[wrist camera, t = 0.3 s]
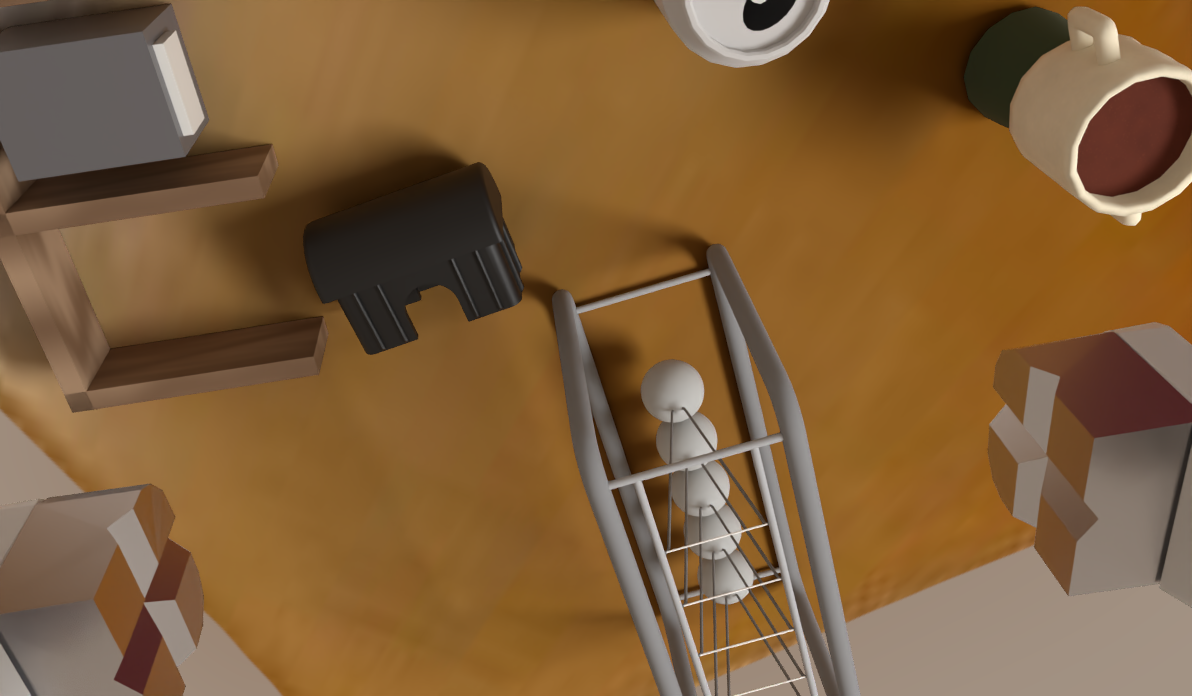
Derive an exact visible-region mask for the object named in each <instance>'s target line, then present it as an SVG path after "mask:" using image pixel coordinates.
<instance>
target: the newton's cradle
mask: <svg viewBox="0 0 1192 696" xmlns="http://www.w3.org/2000/svg"><path fill="white" fill-rule="evenodd" d="M707 262H708V266H709V269H705V270H702V271H698V272H695V273H692V274H688V275H685V276H681V277H678V278H675V279H671V280H668V281H664V282H661V283H658V284H654V285H651V286H647V287H644V288H641V289H637V290H634V291H630V292H627V293H624V294H620V295H617V296H613V297H610V298H607V299H603V300H600V301H597V302H593V303H590V304H586V305H583V306H580V307H576V306H575V303H574V300H573V298H572V296H571V294H570V293H569V292H568V291H567V290H563V289H562V290H558V291H556V292H555V293H554V294H553V297H552V305H553V312H554V319H555V325H556V332H557V339H558V346H559V353H560V360H561V367H562V374H563V381H564V388H565V395H566V402H567V408H568V415H569V422H570V429H571V436H572V442H573V447H574V452H575V456H576V460H577V464H578V468H579V471H580V475H581V478H582V481H583V484H584V487H585V490H586V493H587V496H588V499H589V501H590V504H591V507H592V510H593V512H594V515H595V518H596V521H597V523H598V526H599V529H600V532H601V534H602V537H603V540H604V542H605V545H606V548H607V551H608V553H609V556H610V559H611V562H612V564H613V567H614V570H615V573H616V575H617V578H618V581H619V583H620V586H621V589H622V592H623V594H624V597H625V600H626V603H627V605H628V608H629V611H630V614H631V616H632V619H633V622H634V624H635V627H636V630H637V633H638V635H639V638H640V641H641V644H642V646H643V649H644V652H645V655H646V657H647V660H648V663H649V665H650V668H651V671H652V674H653V676H654V679H655V682H656V685H657V687H658V690H659V693H660V696H697V694H696V690H695V686H694V681H693V677H692V673H691V669H690V664H689V660H688V656H687V651H686V647H685V643H684V639H683V635H684V638H685V641H686V644H687V647H688V650H689V653H690V656H691V659H692V662H693V665H694V668H695V671H696V674H697V677H698V680H699V683H700V686H701V689H702V692H703V695H704V696H711V693H710V690H709V687H708V684H707V681H706V678H705V675H704V671H703V668H702V665H701V662H700V659H699V657H700V656H703V655H706V654H710V653H713V652H714V669H715V696H718V679H717V651H721V650H724V649H726V650H727V686H728V696H730V666H729V648H732V647H735V646H739V645H743V644H746V643H750V642H754V641H757V640H761V639H763V640H764V642H765V644H766V645H767V647H768V648H769V650H770V652H771V653H772V655H773V657H774V658H775V660H776V661H777V663H778V665H779V666H780V668H781V669H782V671H783V673H784V674H785V676H786V677H787V679H788V681H785V682H781V683H777V684H773V685H769V686H766V687H763V688H758V689H755V690H751V691H747V692H744V693H740V694H736V695H733V696H740V695H743V694H747V693H751V692H754V691H757V690H762V689H765V688H769V687H772V686H776V685H780V684H783V683H787V682H789V683H790V684H791V686H792V688H793V689H794V691H795V692H796V694H797V696H800V694H799V692H798V691H797V689H796V687H795V686H794V684H793V683H792V681H795V680H798V679H802V678H807V682H808V686H809V689H810V694H811V696H818V693H817V688H816V684H815V680H814V676H813V672H812V668H811V663H810V659H809V655H808V651H807V647H806V642H805V638H806V640H807V643H808V645H809V648H810V651H811V654H812V657H813V659H814V662H815V665H816V668H817V670H818V673H819V676H820V678H821V681H822V684H823V687H824V689H825V692H826V695H827V696H860V691H859V686H858V682H857V676H856V671H855V667H854V662H853V657H852V653H851V648H850V643H849V638H848V633H847V628H846V623H845V618H844V614H843V609H842V604H841V599H840V594H839V589H838V585H837V580H836V575H835V570H834V565H833V560H832V556H831V551H830V546H829V541H828V536H827V531H826V527H825V522H824V517H823V512H822V507H821V502H820V498H819V493H818V488H817V483H816V478H815V473H814V469H813V464H812V459H811V454H810V449H809V444H808V440H807V435H806V430H805V426H804V422H803V418H802V414H801V411H800V407H799V404H798V401H797V398H796V395H795V392H794V389H793V387H792V384H791V382H790V380H789V377H788V375H787V373H786V371H785V369H784V367H783V365H782V363H781V361H780V359H779V356H778V354H777V352H776V350H775V348H774V346H773V344H772V342H771V340H770V338H769V336H768V334H767V332H766V330H765V328H764V326H763V324H762V321H761V319H760V317H759V315H758V313H757V311H756V309H755V307H754V305H753V303H752V301H751V299H750V297H749V295H748V293H747V291H746V289H745V286H744V284H743V282H742V280H741V278H740V276H739V274H738V272H737V270H736V268H735V266H734V264H733V262H732V260H731V258H730V256H729V254H728V252H727V250H726V248H725V247H724V246H723V245H721V244H713V245H711V246H710V247H709V248H708V250H707ZM708 275H711V279H712V283H713V287H714V291H715V295H716V299H717V304H718V308H719V312H720V316H721V320H722V324H723V328H724V332H725V336H726V340H727V344H728V349H729V353H730V357H731V361H732V365H733V369H734V373H735V377H736V381H737V385H738V389H739V394H740V398H741V402H742V406H743V410H744V414H745V418H746V422H747V426H748V430H749V434H750V439H751V441H749V442H745V443H742V444H738V445H735V446H731V447H728V448H724V449H721V450H717V451H716V447H717V434H716V431H715V428H714V426H713V424H712V423H711V421H710V420H709V419H708V418H707V417H705V416H704V415H703V414H701V413H699V412H697V410H698V409H699V407H700V406H701V404H702V401H703V397H704V386H703V381H702V379H701V377H700V375H699V373H698V372H697V371H696V370H695V369H694V368H693V367H692V366H691V365H689V364H688V363H686V362H683V361H680V360H665V361H662V362H659V363H657V364H655V365H654V366H653V367H652V368H650V369H649V371H648V372H647V373H646V375H645V376H644V378H643V382H642V385H641V397H642V401H643V403H644V405H645V408H646V409H647V410H648V412H649V413H650V414H651V415H653V416H654V417H655V418H657V419H659V420H661V421H663V422H662V423H661V424H660V426H659V428H658V431H657V435H656V445H657V450H658V452H659V454H660V456H661V458H662V459H663V460H664V461H665V462H666V463H667V464H668V465H664V466H661V467H657V468H654V469H650V470H647V471H643V472H640V473H636V474H633V475H631V472H630V469H629V466H628V463H627V460H626V457H625V454H624V451H623V448H622V445H621V442H620V439H619V436H618V433H617V430H616V427H615V424H614V421H613V417H612V414H611V411H610V408H609V405H608V402H607V399H606V396H605V393H604V390H603V387H602V384H601V381H600V378H599V375H598V372H597V369H596V366H595V363H594V360H593V357H592V354H591V351H590V348H589V345H588V342H587V339H586V336H585V333H584V330H583V327H582V324H581V321H580V318H579V315H578V314H579V313H582V312H586V311H589V310H593V309H596V308H599V307H603V306H606V305H610V304H613V303H616V302H620V301H623V300H627V299H630V298H633V297H637V296H640V295H644V294H647V293H650V292H654V291H657V290H661V289H664V288H667V287H671V286H674V285H678V284H681V283H684V282H688V281H691V280H695V279H698V278H701V277H705V276H708ZM745 341H746V342H745ZM746 343H747V345H748V347H749V350H750V352H751V354H752V356H753V359H754V361H755V363H756V365H757V368H758V370H759V372H760V374H761V377H762V379H763V381H764V383H765V386H766V388H767V390H768V393H769V396H770V398H771V401H772V404H773V407H774V411H775V414H776V417H777V421H778V424H779V428H780V433H777V434H773V435H770V436H767V432H766V428H765V423H764V419H763V415H762V410H761V406H760V402H759V398H758V393H757V389H756V385H755V380H754V376H753V372H752V367H751V363H750V359H749V355H748V350H747V346H746ZM591 410H592V412H591ZM592 413H593V416H594V419H595V422H596V425H597V428H598V430H599V433H600V436H601V439H602V442H603V445H604V448H605V451H606V454H607V457H608V460H609V463H610V465H611V468H612V471H613V474H614V477H615V480H612V481H608V480H607V477H606V473H605V470H604V467H603V463H602V460H601V456H600V452H599V448H598V444H597V440H596V435H595V429H594V424H593V418H592ZM780 441H783V445H784V450H785V454H786V459H787V463H788V468H789V472H790V477H791V481H792V485H793V490H794V494H795V499H796V503H797V508H798V512H799V517H800V521H801V526H802V530H803V535H804V539H805V544H806V548H807V553H808V557H809V561H810V566H811V570H812V575H813V579H814V584H815V588H816V593H817V597H818V602H819V606H820V611H821V615H822V620H823V624H824V629H825V633H826V637H827V642H828V646H829V651H830V655H831V657H830V655H829V652H828V650H827V647H826V644H825V642H824V639H823V637H822V634H821V631H820V629H819V626H818V624H817V621H816V618H815V616H814V613H813V611H812V608H811V605H810V603H809V600H808V598H807V595H806V592H805V589H804V586H803V583H802V580H801V576H800V573H799V569H798V565H797V561H796V556H795V552H794V548H793V544H792V539H791V535H790V531H789V526H788V522H787V518H786V513H785V509H784V505H783V501H782V496H781V492H780V488H779V483H778V479H777V475H776V471H775V466H774V462H773V458H772V453H771V449H770V444H773V443H777V442H780ZM748 450H751V454H752V459H753V463H754V467H755V471H756V475H757V479H758V483H759V487H760V491H761V495H762V499H763V503H764V507H765V511H766V515H767V519H768V522H766V521H765V520H764V518H763V517H762V516H761V514H760V513H759V511H758V510H757V509H756V507H755V506H754V504H753V503H752V501H751V500H750V499H749V497H748V496H747V494H746V493H745V492H744V490H743V489H742V487H741V486H740V484H739V483H738V482H737V480H736V479H735V477H734V476H733V475H732V473H731V472H730V470H729V469H728V467H727V466H726V465H725V463H724V462H723V460H722V459H721V458H724V457H727V456H731V455H734V454H738V453H741V452H745V451H748ZM717 459H718V460H719V461H720V463H721V464H722V465H723V467H724V468H725V470H726V471H727V473H728V474H729V475H730V477H731V478H732V480H733V481H734V483H735V484H736V485H737V487H738V488H739V490H740V491H741V493H742V494H743V495H744V497H745V498H746V500H747V501H748V503H749V504H750V505H751V507H752V508H753V510H754V511H755V513H756V514H757V515H758V517H759V518H760V520H761V521H762V523H763V524H762V525H758V526H755V527H751V528H748V529H747V528H746V526H745V525H744V523H743V522H742V520H741V519H740V517H739V516H738V514H737V513H736V511H735V510H734V508H733V507H732V505H731V504H730V502H729V501H728V499H727V498H728V496H729V489H730V485H729V479H728V476H727V474H726V472H725V470H724V469H723V468H722V467H721V466H720V465H719V464H718V463H717V462H715V461H713V460H717ZM672 472H674V473H673V475H672ZM668 473H669V497H668V534H667V550H666V551H665V552H664V549H663V545H662V542H661V539H660V536H659V533H658V530H657V527H656V524H655V521H654V518H653V515H652V512H651V509H650V506H649V502H648V499H647V496H646V493H645V490H644V487H643V484H642V481H643V480H646V479H650V478H654V477H657V476H661V475H664V474H668ZM615 488H618V489H619V492H620V495H621V498H622V500H623V503H624V506H625V509H626V512H627V515H628V518H629V521H630V524H631V527H632V530H633V533H634V535H635V538H636V541H637V544H638V547H639V550H640V553H641V556H642V559H643V562H644V565H645V568H646V570H647V573H648V576H649V579H650V582H651V585H652V588H653V591H654V594H655V597H656V600H657V603H658V606H659V609H660V612H661V615H662V619H663V622H664V626H665V630H666V634H667V638H668V643H669V648H670V652H671V657H672V661H673V666H674V670H673V667H672V664H671V661H670V658H669V655H668V652H667V649H666V647H665V644H664V641H663V638H662V635H661V632H660V629H659V626H658V624H657V621H656V618H655V615H654V612H653V609H652V606H651V604H650V601H649V598H648V595H647V592H646V589H645V586H644V583H643V581H642V578H641V575H640V572H639V569H638V566H637V563H636V560H635V558H634V555H633V552H632V549H631V546H630V543H629V540H628V537H627V535H626V532H625V529H624V526H623V523H622V520H621V517H620V515H619V512H618V509H617V506H616V503H615V500H614V497H613V494H612V492H611V489H615ZM671 495H672V498H673V500H674V502H675V503H676V505H677V506H678V507H679V508H680V509H681V510H682V511H683V512H685V523H684V537H685V546H683V547H680V548H676V549H673V550H670V538H671ZM725 502H726V503H727V504H728V506H729V507H728V506H727V505H725ZM741 525H742V527H743V528H744V530H741ZM765 525H769V528H770V532H771V536H772V540H773V544H774V548H775V552H776V556H777V560H778V564H779V567H777V568H773V566H772V565H771V563H770V562H769V560H768V559H767V557H766V556H765V554H764V553H763V551H762V550H761V548H760V547H759V545H758V544H757V542H756V541H755V539H754V538H753V536H752V535H751V533H750V532H749V531H748V530H751V529H755V528H758V527H762V526H765ZM744 531H746V533H747V534H748V536H749V537H750V539H751V540H752V542H753V543H754V545H755V546H756V548H757V549H758V551H759V552H760V554H761V555H762V557H763V558H764V560H765V561H766V563H767V564H768V566H769V567H770V570H767V571H763V572H759V573H757V572H756V571H755V569H754V568H753V566H752V565H751V563H750V562H749V560H748V558H747V557H746V555H745V554H744V552H743V551H742V549H741V548H740V546H739V545H738V544H739V541H740V538H741V532H744ZM688 547H689V548H690V549H691V550H692V551H693V552H694V553H695V554H697V555H698V556H699V561H700V565H699V567H698V574H697V576H698V583H699V585H700V589H698V590H695V591H691V592H688V593H687V561H688ZM736 547H737V548H738V549H739V551H740V552H739V551H737V550H735V549H736ZM683 548H685V573H684V594H680V595H678V592H677V588H676V585H675V582H674V579H673V576H672V573H671V570H670V567H669V564H668V561H667V558H666V554H667V553H669V552H673V551H676V550H680V549H683ZM702 558H703V559H702ZM780 572H781V576H782V577H780V576H779V575H778V574H777V573H780ZM753 573H754V574H753ZM773 574H774V575H775V576H776V578H778V579H775V580H771V581H768V582H764V583H763V582H762V580H761V579H760V578H762V577H766V576H770V575H773ZM755 579H758V581H759V582H760V584H757V585H753V586H752V584H753V580H755ZM778 580H783V584H784V588H785V592H786V597H787V601H788V605H789V609H790V613H791V617H792V621H793V625H794V628H793V627H792V626H791V625H790V623H789V622H788V620H787V619H786V617H785V616H784V614H783V613H782V611H781V609H780V608H779V606H778V605H777V603H776V602H775V600H774V599H773V597H772V596H771V594H770V592H769V591H768V589H767V588H766V586H765V585H764V584H767V583H771V582H775V581H778ZM760 585H762V587H763V588H764V590H765V591H766V593H767V595H768V596H769V598H770V599H771V601H772V602H773V604H774V605H775V607H776V608H777V610H778V612H779V613H780V615H781V616H782V618H783V619H784V621H785V622H786V624H787V626H788V627H789V629H790V630H787V631H783V632H779V633H777V631H776V629H775V628H774V626H773V625H772V623H771V621H770V620H769V618H768V617H767V615H766V613H765V612H764V610H763V609H762V607H761V605H760V604H759V602H758V601H757V599H756V597H755V596H754V594H753V593H752V591H751V588H753V587H757V586H760ZM748 593H750V594H751V596H752V597H753V599H754V601H755V602H756V604H757V605H758V607H759V609H760V610H761V612H762V614H763V615H764V617H765V618H766V620H767V622H768V623H769V625H770V626H771V628H772V630H773V631H774V633H775V634H772V635H768V636H765V637H764V636H763V634H762V632H761V631H760V629H759V627H758V626H757V624H756V623H755V621H754V619H753V618H752V616H751V615H750V613H749V611H748V610H747V608H746V606H745V605H744V603H743V602H742V599H743V598H744V597H745V596H746V595H747V594H748ZM703 594H705V595H706V596H707V597H708V598H706V599H703ZM698 595H700V600H699V601H695V602H692V603H688V604H687V598H690V597H694V596H698ZM683 599H684V604H683V605H682V604H681V601H680V600H683ZM710 599H711V600H712V601H713V624H714V651H710V652H706V653H703V601H706V600H710ZM738 601H740V603H741V605H742V606H743V608H744V609H745V611H746V613H747V614H748V616H749V618H750V619H751V621H752V622H753V624H754V626H755V627H756V629H757V631H758V632H759V634H760V635H761V638H757V639H754V640H750V641H746V642H743V643H739V644H736V645H732V646H729V633H728V604H733V603H736V602H738ZM699 602H700V653H699V654H698V653H697V650H696V647H695V644H694V641H693V638H692V635H691V631H690V628H689V625H688V622H687V619H686V616H685V613H684V610H683V607H685V606H688V605H692V604H695V603H699ZM716 603H720V604H725V614H726V647H725V648H721V649H717V639H716ZM679 622H680V623H679ZM680 625H681V626H680ZM681 628H682V630H681ZM682 631H683V634H682ZM790 631H795V633H796V637H797V641H798V645H799V649H800V653H801V657H802V661H803V666H804V670H805V674H806V675H804V674H803V672H802V671H801V669H800V668H799V666H798V664H797V663H796V661H795V660H794V658H793V656H792V655H791V653H790V652H789V650H788V648H787V647H786V645H785V644H784V642H783V640H782V639H781V637H780V636H779V634H783V633H786V632H790ZM803 632H804V634H803ZM775 635H776V636H777V638H778V639H779V641H780V642H781V644H782V646H783V647H784V649H785V650H786V652H787V654H788V655H789V657H790V658H791V660H792V662H793V663H794V665H795V666H796V668H797V670H798V671H799V673H800V674H801V676H802V677H799V678H795V679H792V680H791V679H790V678H789V676H788V674H787V673H786V671H785V670H784V668H783V666H782V665H781V663H780V661H779V660H778V658H777V657H776V655H775V653H774V652H773V650H772V649H771V647H770V645H769V644H768V642H767V640H766V639H765V638H768V637H772V636H775ZM804 635H805V638H804ZM674 671H675V672H674Z"/></svg>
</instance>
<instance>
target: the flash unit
mask: <svg viewBox="0 0 1192 696" xmlns="http://www.w3.org/2000/svg"><path fill="white" fill-rule="evenodd" d="M208 121H209V118H208V114H207V111H206V108H205V105H204V102H203V99H202V96H201V93H200V90H199V87H198V84H197V81H196V78H195V75H194V72H193V68H192V65H191V62H190V59H189V56H188V53H187V50H186V47H185V44H184V41H183V38H182V35H181V32H180V29H179V26H178V22H177V19H176V16H175V13H174V10H173V7H172V4H165V5H158V6H151V7H144V8H138V9H131V10H124V11H117V12H110V13H103V14H96V15H89V16H82V17H76V18H69V19H62V20H55V21H48V22H41V23H34V24H27V25H20V26H14V27H8V28H7V29H5V30H4V31H2V32H1V33H0V141H1V143H2V145H3V148H4V150H5V152H6V155H7V157H8V159H9V161H10V164H11V166H12V168H13V170H14V173H15V175H16V177H17V179H18V182H20V181H27V180H33V179H40V178H47V177H54V176H60V175H67V174H74V173H80V172H87V171H94V170H101V169H107V168H114V167H121V166H127V165H134V164H141V163H147V162H154V161H161V160H168V159H174V158H181V157H186V155H187V154H188V152H189V151H190V149H191V148H192V146H193V144H194V143H195V141H196V140H197V138H198V137H199V135H200V134H201V132H202V131H203V129H204V127H205V126H206V124H207V123H208Z"/></svg>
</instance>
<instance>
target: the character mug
mask: <svg viewBox="0 0 1192 696" xmlns="http://www.w3.org/2000/svg"><path fill="white" fill-rule="evenodd" d="M964 81H965V85H966V90H967V95H968V99H969V101H970V102H971V103H972V104H973V105H974V106H975V107H976V108H977V109H978V110H979V111H980V112H981V113H982V114H983V115H984V116H985V117H987V118H989V119H991V120H992V121H994V122H996V123H998V124H1000V125H1003V126H1005V127H1007V128H1009V131H1010V133H1011V135H1012V137H1013V139H1014V141H1015V143H1016V145H1017V147H1018V149H1019V151H1020V152H1021V154H1022V155H1023V156H1024V157H1025V158H1026V159H1028V160H1029V161H1030V162H1031V163H1033V164H1034V165H1035V166H1036V167H1038V168H1039V169H1040V170H1041V171H1043V172H1044V173H1045V174H1046V175H1048V176H1049V177H1050V178H1052V179H1053V180H1054V181H1055V182H1057V183H1058V184H1059V185H1060V186H1062V187H1063V188H1064V189H1065V190H1067V191H1068V192H1069V193H1070V194H1072V195H1073V196H1074V197H1076V198H1077V199H1079V200H1080V201H1081V202H1083V203H1084V204H1085V205H1087V206H1088V207H1089V208H1091V209H1092V210H1094V211H1096V212H1098V213H1105V214H1110V215H1111V216H1113V217H1114V218H1115V219H1117V220H1118V221H1119V222H1120V223H1122V224H1124V225H1134V226H1135V225H1136V224H1137V223H1138V222H1139V221H1140V220H1141V213H1142V212H1146V211H1151V210H1153V209H1155V208H1157V207H1158V206H1160V205H1162V204H1163V203H1165V202H1167V201H1168V200H1170V199H1172V198H1173V197H1175V196H1177V195H1178V194H1180V193H1181V192H1182V191H1183V190H1184V189H1185V188H1186V187H1187V186H1188V185H1189V184H1190V183H1191V182H1192V70H1190V69H1189V68H1188V67H1186V66H1184V65H1182V64H1180V63H1178V62H1176V61H1175V60H1174V59H1172V58H1171V57H1169V56H1167V55H1165V54H1163V53H1161V52H1159V51H1158V50H1156V49H1153V48H1150V47H1147V46H1143V45H1141V44H1140V43H1139V42H1138V41H1136V40H1135V39H1133V38H1132V37H1129V36H1124V35H1120V34H1118V33H1117V29H1116V26H1115V23H1114V22H1113V21H1112V20H1111V19H1110V18H1109V17H1107V16H1105V15H1103V14H1101V13H1099V12H1097V11H1094V10H1092V9H1090V8H1088V7H1074V8H1073V9H1072V10H1071V11H1070V12H1069V13H1068V20H1066V19H1065V18H1064V17H1062V16H1061V15H1060V14H1058V13H1055V12H1052V11H1049V10H1045V9H1042V8H1039V7H1033V8H1029V9H1025V10H1021V11H1018V12H1014V13H1011V14H1010V15H1008V16H1007V17H1005V18H1004V19H1002V20H1001V21H999V22H998V23H996V24H995V25H994V26H992V27H991V28H989V29H988V30H987V31H986V33H985V34H984V35H983V37H982V38H981V39H980V40H979V42H978V43H977V44H976V46H975V47H974V48H973V50H972V51H971V53H970V56H969V60H968V63H967V67H966V71H965V74H964Z"/></svg>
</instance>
